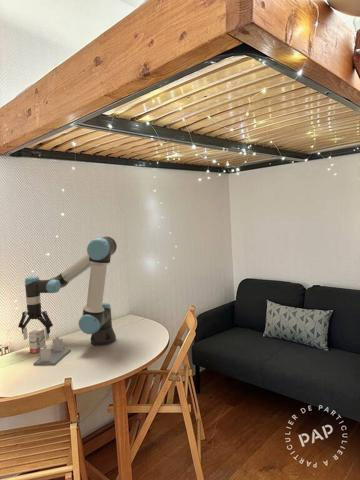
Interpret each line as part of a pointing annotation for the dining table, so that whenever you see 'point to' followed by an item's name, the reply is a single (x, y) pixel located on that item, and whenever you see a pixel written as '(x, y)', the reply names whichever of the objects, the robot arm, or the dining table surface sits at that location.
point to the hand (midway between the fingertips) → (36, 339)
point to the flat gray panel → (52, 353)
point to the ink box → (36, 340)
